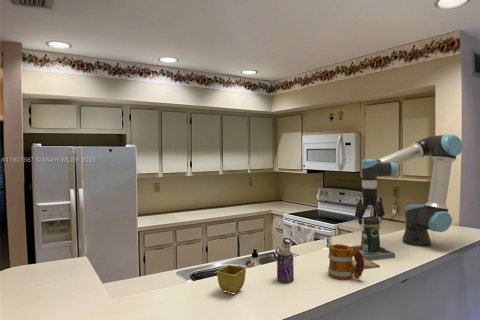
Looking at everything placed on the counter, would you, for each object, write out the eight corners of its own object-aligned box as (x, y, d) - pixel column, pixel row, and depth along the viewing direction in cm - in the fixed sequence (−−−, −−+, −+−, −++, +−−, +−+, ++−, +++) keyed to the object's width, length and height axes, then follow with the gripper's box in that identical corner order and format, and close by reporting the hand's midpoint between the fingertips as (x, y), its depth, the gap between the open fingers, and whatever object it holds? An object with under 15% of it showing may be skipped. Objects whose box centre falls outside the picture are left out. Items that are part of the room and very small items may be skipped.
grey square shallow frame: (373, 248, 183) (373, 243, 183) (395, 257, 166) (394, 251, 166) (347, 251, 179) (347, 245, 179) (366, 260, 162) (366, 254, 162)
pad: (365, 259, 164) (365, 258, 164) (379, 267, 153) (379, 265, 153) (346, 262, 161) (346, 260, 161) (359, 269, 150) (359, 267, 150)
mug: (335, 269, 152) (334, 237, 151) (369, 278, 140) (369, 244, 140) (322, 275, 144) (322, 242, 144) (358, 285, 132) (357, 249, 132)
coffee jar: (372, 248, 178) (372, 214, 178) (383, 252, 170) (382, 217, 170) (358, 249, 175) (357, 216, 175) (368, 254, 167) (367, 218, 167)
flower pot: (235, 298, 122) (234, 275, 122) (216, 293, 127) (216, 271, 127) (246, 290, 130) (246, 268, 130) (228, 285, 134) (228, 264, 134)
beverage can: (283, 284, 134) (283, 256, 134) (274, 279, 141) (273, 251, 141) (297, 281, 138) (296, 253, 138) (287, 276, 144) (286, 249, 144)
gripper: (382, 186, 178) (383, 226, 179) (347, 188, 173) (347, 229, 173) (392, 187, 171) (392, 229, 171) (355, 189, 166) (356, 232, 166)
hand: (370, 229), depth 172 cm, fingers closed on coffee jar, 9 cm apart
